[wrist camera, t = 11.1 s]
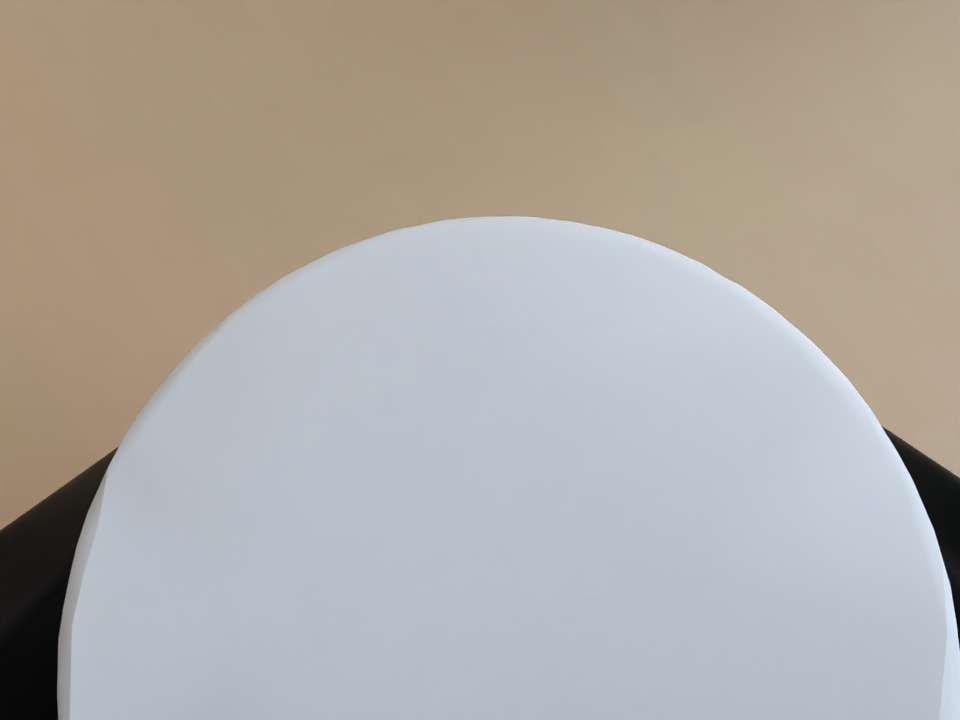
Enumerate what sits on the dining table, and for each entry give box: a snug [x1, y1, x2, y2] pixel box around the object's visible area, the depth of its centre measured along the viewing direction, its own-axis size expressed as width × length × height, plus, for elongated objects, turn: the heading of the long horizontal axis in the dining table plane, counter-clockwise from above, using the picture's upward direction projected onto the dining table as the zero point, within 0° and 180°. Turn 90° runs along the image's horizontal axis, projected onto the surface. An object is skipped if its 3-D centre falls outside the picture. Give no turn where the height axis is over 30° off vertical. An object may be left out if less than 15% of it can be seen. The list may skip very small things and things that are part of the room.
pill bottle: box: [57, 216, 960, 720], centre depth 10 cm, size 6×6×11 cm
